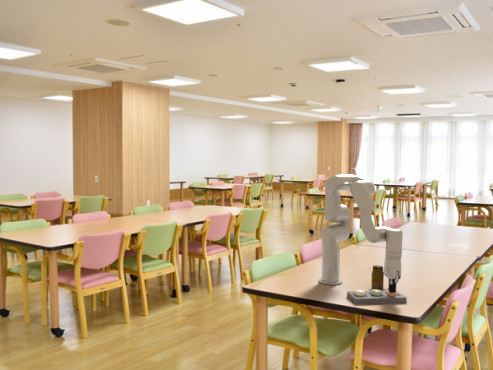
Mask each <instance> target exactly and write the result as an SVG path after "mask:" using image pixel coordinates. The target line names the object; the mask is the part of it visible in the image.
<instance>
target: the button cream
mask: <svg viewBox="0 0 493 370" xmlns="http://www.w3.org/2000/svg"><path fill="white" fill-rule="evenodd" d="M354 291H355V296H356V297H365V291H366V290H363V289H355V290H354Z"/></svg>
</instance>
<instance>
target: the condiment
mask: <svg viewBox="0 0 493 370" xmlns="http://www.w3.org/2000/svg"><path fill="white" fill-rule="evenodd" d="M384 276H385V275H384V266H382V265H373V266H372V271H371V286H370V287H369V288H368V290H370V291H371V290H373V289H377V290H381V291H388V288H386V287H385V288H384V281H385V280H384V278H385V277H384Z"/></svg>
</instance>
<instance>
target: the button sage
mask: <svg viewBox="0 0 493 370" xmlns="http://www.w3.org/2000/svg"><path fill="white" fill-rule="evenodd" d="M370 291H371V295H372V296H382V291H381V290H377V289H373V290H371V289H370Z"/></svg>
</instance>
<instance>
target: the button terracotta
mask: <svg viewBox="0 0 493 370" xmlns="http://www.w3.org/2000/svg"><path fill="white" fill-rule="evenodd" d="M387 291H388V290H387ZM398 292H399V291H397V292H389V291H388V292H387V294H388V295H389V296H398Z"/></svg>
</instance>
